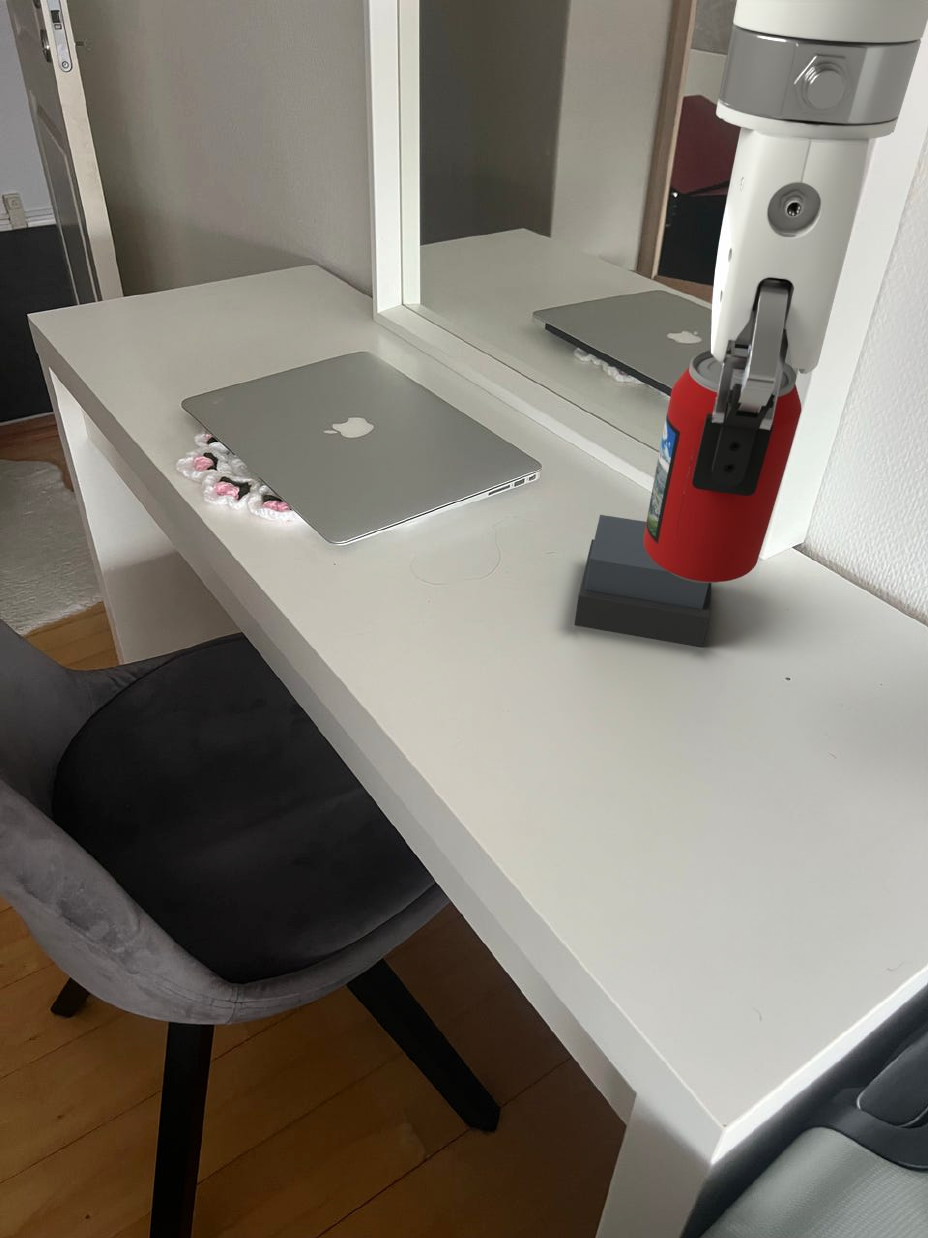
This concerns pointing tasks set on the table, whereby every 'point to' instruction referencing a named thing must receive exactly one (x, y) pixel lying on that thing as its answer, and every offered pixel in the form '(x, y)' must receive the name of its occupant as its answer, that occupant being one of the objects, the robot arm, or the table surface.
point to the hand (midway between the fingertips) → (723, 452)
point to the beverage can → (706, 520)
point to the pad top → (635, 567)
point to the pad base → (642, 615)
